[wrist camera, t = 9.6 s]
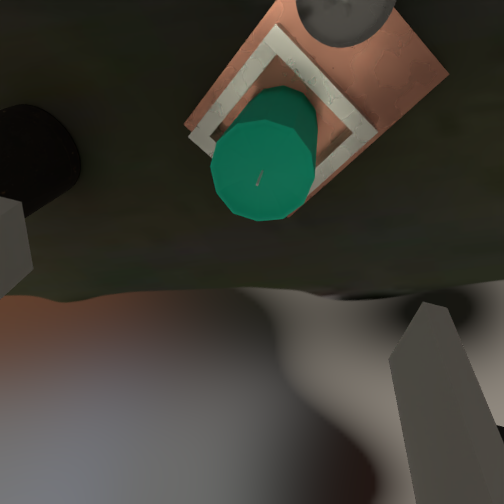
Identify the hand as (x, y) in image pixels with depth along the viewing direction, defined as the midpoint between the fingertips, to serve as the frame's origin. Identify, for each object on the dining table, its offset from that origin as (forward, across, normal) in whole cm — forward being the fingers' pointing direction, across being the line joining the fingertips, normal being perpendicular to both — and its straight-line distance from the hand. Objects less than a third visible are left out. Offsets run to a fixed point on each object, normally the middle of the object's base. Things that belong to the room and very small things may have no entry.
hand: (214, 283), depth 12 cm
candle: (+21, 0, 0) cm, 21 cm away
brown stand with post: (+22, +2, +2) cm, 22 cm away
